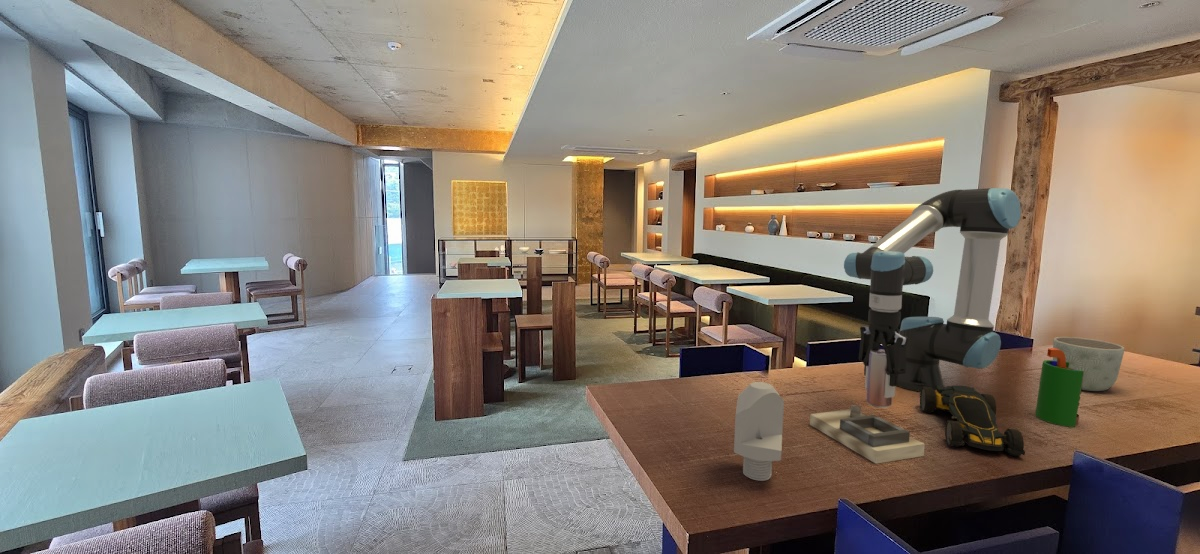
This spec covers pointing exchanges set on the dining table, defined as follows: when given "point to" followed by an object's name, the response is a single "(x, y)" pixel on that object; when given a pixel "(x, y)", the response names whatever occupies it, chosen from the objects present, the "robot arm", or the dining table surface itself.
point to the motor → (1059, 391)
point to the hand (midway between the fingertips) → (879, 392)
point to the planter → (1092, 360)
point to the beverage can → (877, 379)
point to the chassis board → (868, 435)
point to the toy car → (971, 419)
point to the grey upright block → (759, 429)
